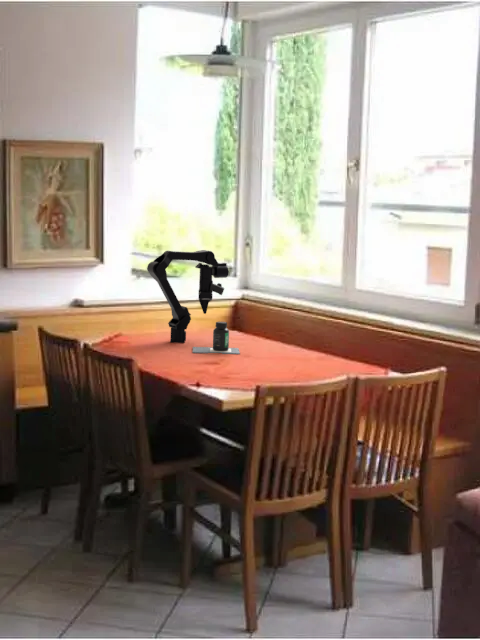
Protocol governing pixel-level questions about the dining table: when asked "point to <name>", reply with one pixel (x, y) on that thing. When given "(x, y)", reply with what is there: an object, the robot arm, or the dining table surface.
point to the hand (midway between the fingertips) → (204, 312)
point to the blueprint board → (210, 350)
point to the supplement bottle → (221, 337)
